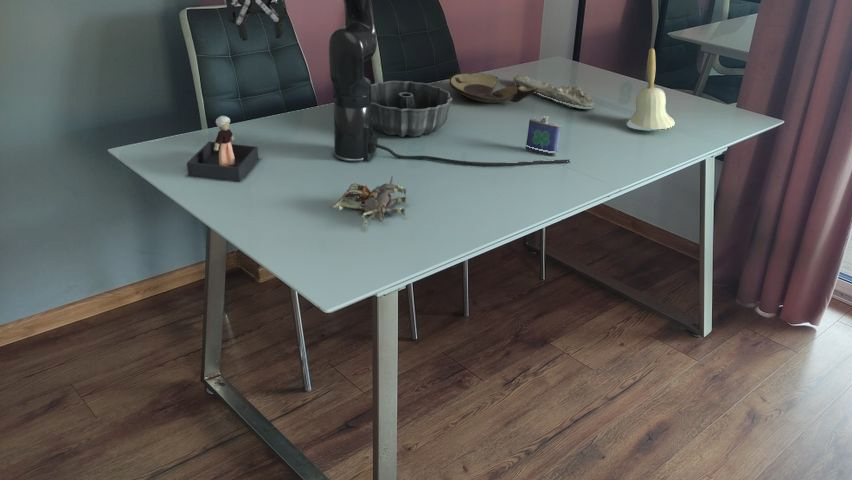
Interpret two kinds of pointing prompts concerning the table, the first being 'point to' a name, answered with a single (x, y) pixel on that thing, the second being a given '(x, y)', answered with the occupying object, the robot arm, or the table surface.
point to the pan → (209, 167)
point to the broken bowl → (487, 88)
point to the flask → (543, 136)
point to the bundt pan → (408, 108)
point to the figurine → (372, 200)
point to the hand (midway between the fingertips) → (262, 39)
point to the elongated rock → (555, 91)
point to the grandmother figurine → (224, 142)
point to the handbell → (651, 102)
